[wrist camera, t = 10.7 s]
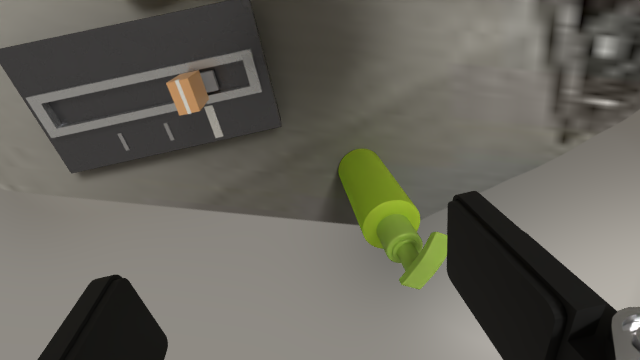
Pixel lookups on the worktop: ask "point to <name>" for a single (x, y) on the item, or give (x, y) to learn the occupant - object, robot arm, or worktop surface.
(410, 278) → the soap dispenser
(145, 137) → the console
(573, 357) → the robot arm
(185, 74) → the fader knob
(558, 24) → the worktop surface
